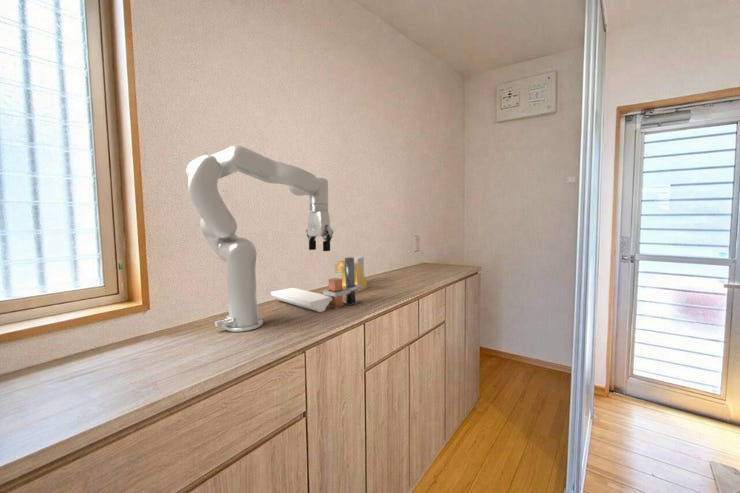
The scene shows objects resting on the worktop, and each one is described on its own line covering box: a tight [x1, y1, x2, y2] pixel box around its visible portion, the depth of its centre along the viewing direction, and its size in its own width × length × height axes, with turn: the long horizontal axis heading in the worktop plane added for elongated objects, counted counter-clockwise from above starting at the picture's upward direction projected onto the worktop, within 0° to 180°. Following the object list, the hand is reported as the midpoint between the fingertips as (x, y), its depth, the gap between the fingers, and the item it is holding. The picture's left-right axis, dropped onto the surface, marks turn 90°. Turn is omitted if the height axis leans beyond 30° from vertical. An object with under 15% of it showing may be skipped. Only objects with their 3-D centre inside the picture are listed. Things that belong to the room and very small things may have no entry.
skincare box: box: [352, 256, 365, 275], centre depth 187 cm, size 8×7×16 cm
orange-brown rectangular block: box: [328, 277, 344, 310], centre depth 142 cm, size 4×4×12 cm
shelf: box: [270, 287, 332, 313], centre depth 147 cm, size 12×30×5 cm, turn 46°
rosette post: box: [322, 256, 363, 307], centre depth 146 cm, size 17×8×20 cm, turn 136°
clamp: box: [334, 260, 367, 297], centre depth 172 cm, size 20×9×16 cm, turn 156°
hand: (319, 250), depth 139 cm, fingers open, 9 cm apart
